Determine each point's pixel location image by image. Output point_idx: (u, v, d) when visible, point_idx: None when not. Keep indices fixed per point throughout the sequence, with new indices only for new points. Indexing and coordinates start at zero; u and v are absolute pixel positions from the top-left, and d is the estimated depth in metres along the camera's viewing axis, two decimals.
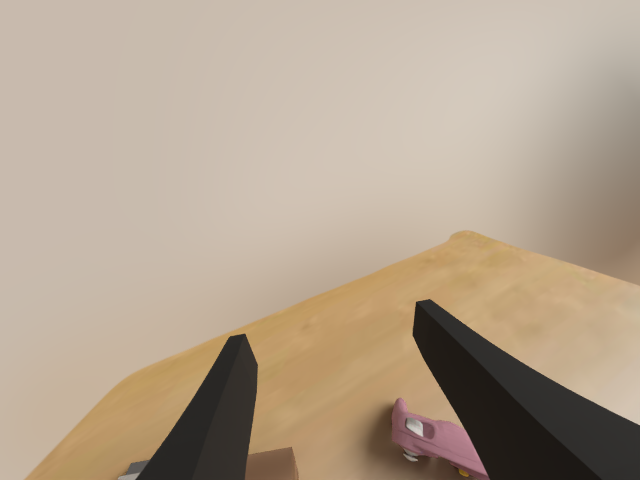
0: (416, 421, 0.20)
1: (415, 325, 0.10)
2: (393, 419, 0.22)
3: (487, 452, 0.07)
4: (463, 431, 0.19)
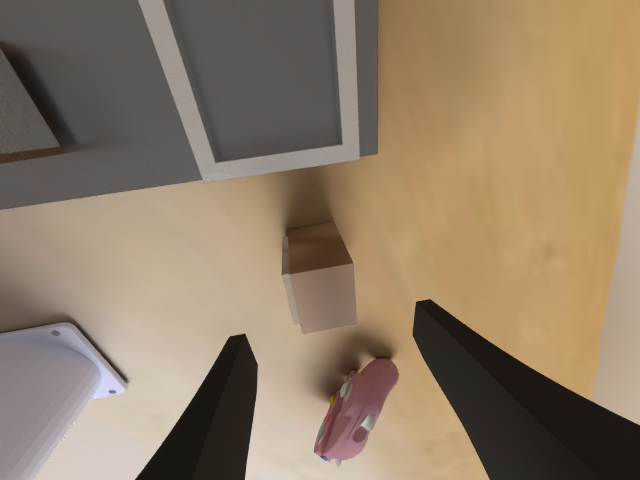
0: (369, 428, 0.18)
1: (415, 325, 0.10)
2: (377, 387, 0.19)
3: (487, 452, 0.07)
4: (355, 455, 0.19)
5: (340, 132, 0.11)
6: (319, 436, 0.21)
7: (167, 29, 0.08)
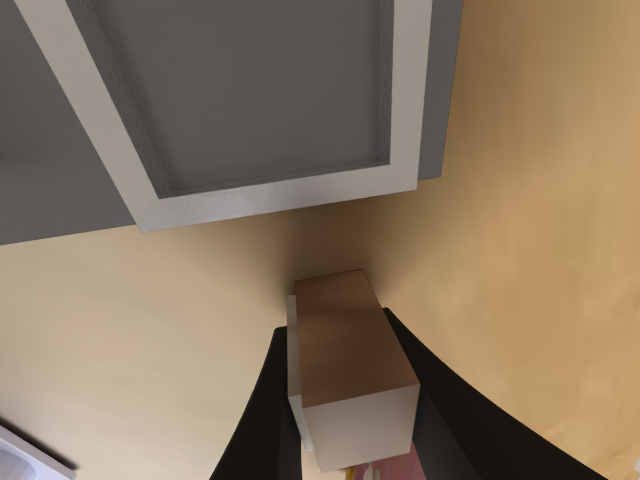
0: None
1: None
2: None
3: (427, 466, 0.07)
4: None
5: (384, 142, 0.06)
6: None
7: None
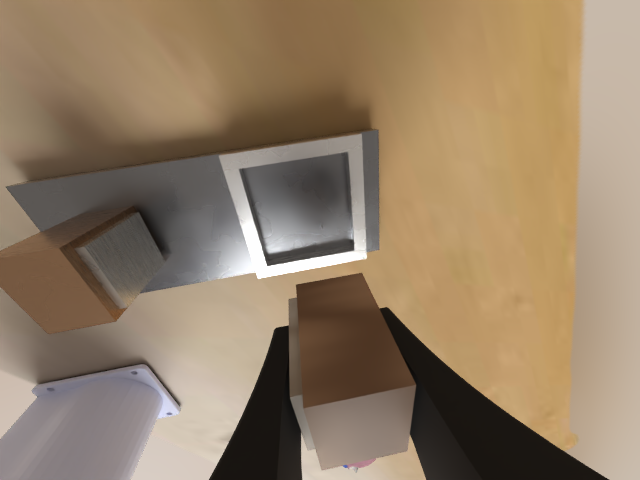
0: None
1: None
2: None
3: (427, 466, 0.07)
4: (369, 463, 0.24)
5: (352, 241, 0.16)
6: None
7: (244, 199, 0.13)
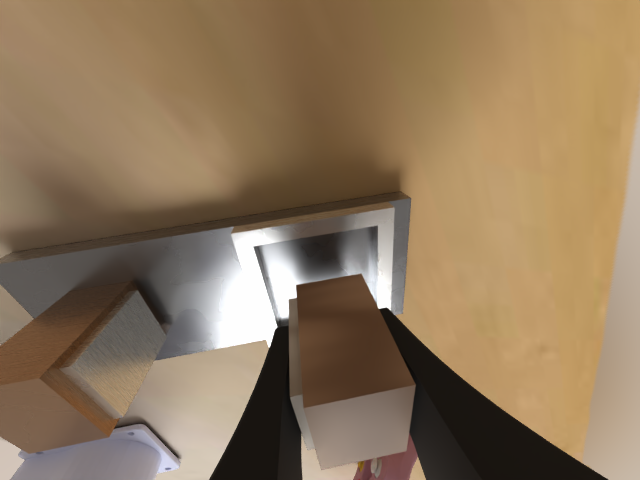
0: None
1: None
2: (403, 465, 0.22)
3: (427, 466, 0.07)
4: None
5: None
6: None
7: (258, 275, 0.12)
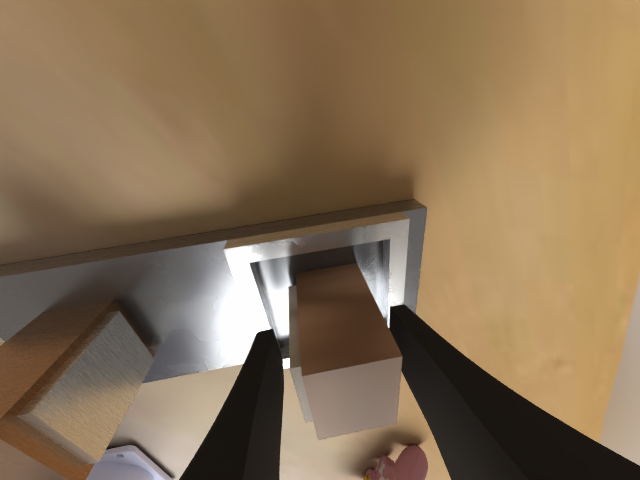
0: None
1: (390, 330, 0.10)
2: None
3: (451, 460, 0.07)
4: None
5: None
6: None
7: (255, 294, 0.10)
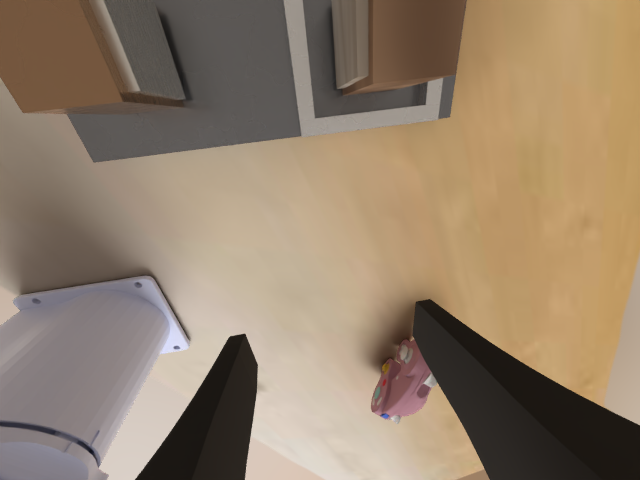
0: (432, 385, 0.20)
1: (415, 325, 0.10)
2: None
3: (487, 452, 0.07)
4: (415, 411, 0.21)
5: (422, 94, 0.12)
6: (377, 398, 0.23)
7: None
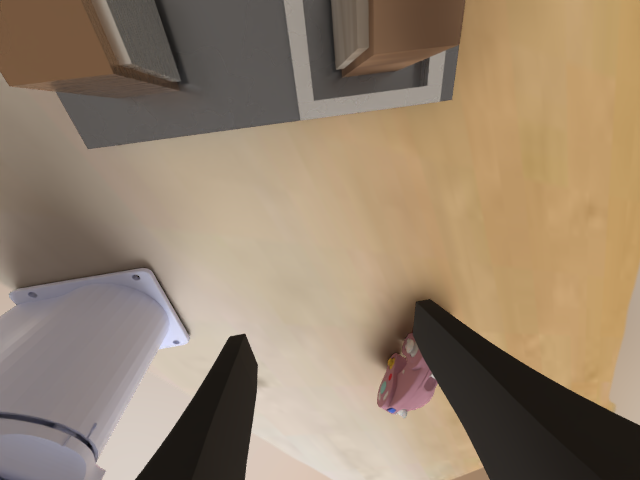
0: None
1: (415, 325, 0.10)
2: None
3: (487, 452, 0.07)
4: (422, 405, 0.21)
5: (424, 75, 0.12)
6: (383, 393, 0.23)
7: None
